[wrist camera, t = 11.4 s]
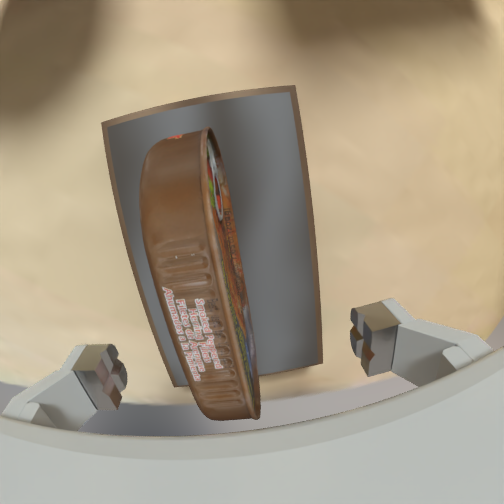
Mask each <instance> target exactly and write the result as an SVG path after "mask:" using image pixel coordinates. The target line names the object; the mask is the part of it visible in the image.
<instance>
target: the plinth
mask: <svg viewBox="0 0 504 504" xmlns="http://www.w3.org/2000/svg"><path fill="white" fill-rule="evenodd" d="M101 124H102V131H103V139H104V145H105V152H106V158H107V163H108V169H109V175H110V180H111V185H112V190H113V195H114V200H115V204H116V209H117V213H118V217H119V222H120V226H121V230H122V234H123V238H124V242H125V246H126V249H127V253H128V257H129V260H130V264H131V267H132V271H133V274H134V278H135V281H136V284H137V288H138V291H139V294H140V297H141V300H142V303H143V306H144V309H145V312H146V315H147V318H148V321H149V324H150V327H151V330H152V332H153V335H154V338H155V341H156V343H157V346H158V349H159V351H160V354H161V356H162V359H163V362H164V364H165V367H166V369H167V372H168V374H169V376H170V379H171V381H172V384H173V386H174V387H184V386H189V384H188V382H187V379H186V377H185V374H184V372H183V369H182V367H181V364H180V361H179V359H178V356H177V353H176V351H175V348H174V345H173V342H172V339H171V336H170V334H169V331H168V328H167V324H166V322H165V319H164V315H163V312H162V309H161V306H160V303H159V299H158V296H157V293H156V289H155V286H154V282H153V278H152V275H151V271H150V268H149V264H148V260H147V256H146V252H145V248H144V243H143V237H142V229H141V222H140V209H139V186H140V178H141V171H142V167H143V163H144V160H145V157H146V154H147V153H148V151H149V150H150V148H151V147H152V146H153V145H154V144H156V143H157V142H158V141H160V140H162V139H165V138H168V137H172V136H176V135H181V134H186V133H191V132H195V131H200V130H203V129H204V128H205V127H210V128H212V130H213V132H214V135H215V137H216V139H217V142H218V146H219V148H220V152H221V156H222V160H223V163H224V168H225V172H226V177H227V183H228V187H229V192H230V198H231V203H232V209H233V215H234V221H235V226H236V233H237V238H238V245H239V250H240V256H241V262H242V268H243V273H244V279H245V285H246V290H247V296H248V301H249V307H250V313H251V320H252V325H253V332H254V338H255V345H256V356H257V367H258V376H264V375H270V374H275V373H281V372H286V371H291V370H295V369H300V368H305V367H309V366H313V365H318V364H322V363H323V348H322V322H321V303H320V287H319V272H318V259H317V248H316V236H315V226H314V216H313V207H312V198H311V189H310V181H309V173H308V165H307V158H306V151H305V144H304V137H303V130H302V124H301V117H300V111H299V105H298V99H297V93H296V88H295V85H292V86H279V87H268V88H258V89H250V90H242V91H234V92H228V93H221V94H215V95H209V96H204V97H198V98H193V99H188V100H183V101H179V102H174V103H170V104H165V105H161V106H157V107H153V108H149V109H145V110H142V111H138V112H134V113H131V114H127V115H124V116H121V117H117V118H114V119H111V120H108V121H105V122H102V123H101Z"/></svg>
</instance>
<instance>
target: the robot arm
mask: <svg viewBox="0 0 504 504" xmlns="http://www.w3.org/2000/svg"><path fill="white" fill-rule="evenodd" d="M351 321H352V323H353V324H354V326H353V327H352V329H351V330H350V340H351V346H352V349H353V352H354V353H355V355H356V356H357V357H359V358H361V366H362V367H363V369H364V371H365V373H366V374H367V376H368V377H370V376H373V375H377V374H381V373H384V372H388V371H391V372H393V373H395V374H397V375H398V376H400V377H402V378H404V379H406V380H407V381H409V382H411V383H413V384H415V385H417V386H418V388H415V389H413V390H410V391H407V392H405V393H402V394H399V395H396V396H394V397H391V398H388V399H385V400H382V401H379V402H376V403H373V404H369V405H366V406H363V407H359V408H356V409H353V410H349V411H345V412H341V413H338V414H334V415H330V416H325V417H321V418H317V419H312V420H308V421H303V422H298V423H293V424H287V425H282V426H276V427H270V428H263V429H257V430H249V431H241V432H232V433H223V434H210V435H194V436H163V437H161V436H160V437H159V436H157V437H156V436H123V435H108V434H96V433H87V432H78V430H79V429H80V428H81V427H82V426H83V425H84V424H85V423H86V422H87V421H88V420H89V419H90V418H91V417H92V416H93V415H94V414H95V413H96V412H97V410H118V407H119V404H120V401H121V399H122V396H121V394H120V392H121V391H123V390H124V389H125V388H126V385H127V372H126V368H125V366H124V364H123V363H122V362H121V361H119V360H118V359H117V358H118V354H119V353H118V351H117V349H116V347H115V346H114V345H113V344H91V345H77V346H75V348H74V349H73V351H72V352H71V353H70V355H69V356H68V358H67V359H66V361H65V362H64V364H63V365H62V367H61V368H60V370H59V371H55V372H53V373H51V374H50V375H48V376H47V377H45V378H43V379H42V380H40V381H39V382H37V383H35V384H34V385H32V386H31V387H29V388H27V389H26V390H24V391H23V392H21V393H20V394H18V395H16V396H15V397H13V398H12V399H11V401H10V402H9V404H8V405H7V407H6V408H5V410H4V411H3V413H2V415H1V416H0V504H504V346H503V347H501V348H500V349H498V350H496V351H494V350H493V349H492V348H491V347H490V346H489V345H487V343H486V342H484V341H483V340H482V339H481V338H480V337H479V336H478V335H476V334H473V333H469V332H465V331H462V330H458V329H454V328H451V327H447V326H444V325H440V324H436V323H433V322H429V321H426V320H422V319H416V320H415V319H414V318H413V317H412V316H411V315H410V314H409V313H408V312H407V311H406V310H405V309H404V308H403V307H402V306H401V305H400V304H399V303H398V302H397V301H396V300H395V299H393V298H389V299H386V300H382V301H379V302H376V303H372V304H368V305H364V306H360V307H357V308H353V309H352V310H351Z"/></svg>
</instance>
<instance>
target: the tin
mask: <svg viewBox="0 0 504 504" xmlns="http://www.w3.org/2000/svg"><path fill="white" fill-rule="evenodd" d="M139 209H140V222H141V229H142V237H143V243H144V248H145V252H146V256H147V260H148V264H149V268H150V271H151V275H152V278H153V282H154V286H155V289H156V293H157V296H158V299H159V303H160V306H161V309H162V312H163V315H164V319H165V322H166V324H167V328H168V331H169V334H170V336H171V339H172V342H173V345H174V348H175V351H176V353H177V356H178V359H179V361H180V364H181V367H182V369H183V372H184V374H185V377H186V379H187V382H188V384H189V387H190V389H191V392H192V394H193V396H194V399H195V401H196V403H197V405H198V407H199V408H200V410H201V411H202V413H203V414H204V415H205V416H206V417H207V418H209V419H211V420H218V421H224V420H237V419H250V418H252V419H255V420H258V419H259V418H260V409H261V405H260V386H259V376H258V367H257V356H256V345H255V338H254V332H253V325H252V320H251V313H250V307H249V301H248V296H247V290H246V285H245V279H244V273H243V268H242V262H241V256H240V250H239V245H238V238H237V233H236V226H235V221H234V215H233V209H232V203H231V198H230V192H229V187H228V183H227V177H226V172H225V168H224V163H223V160H222V156H221V152H220V148H219V146H218V142H217V139H216V137H215V135H214V132H213V130H212V128H210V127H205V128H204V129H203V130H200V131H195V132H191V133H186V134H181V135H176V136H172V137H168V138H165V139H162V140H160V141H158V142H157V143H156V144H154V145H153V146H152V147H151V148H150V150H149V151H148V153H147V154H146V157H145V160H144V163H143V167H142V171H141V178H140V186H139Z"/></svg>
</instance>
